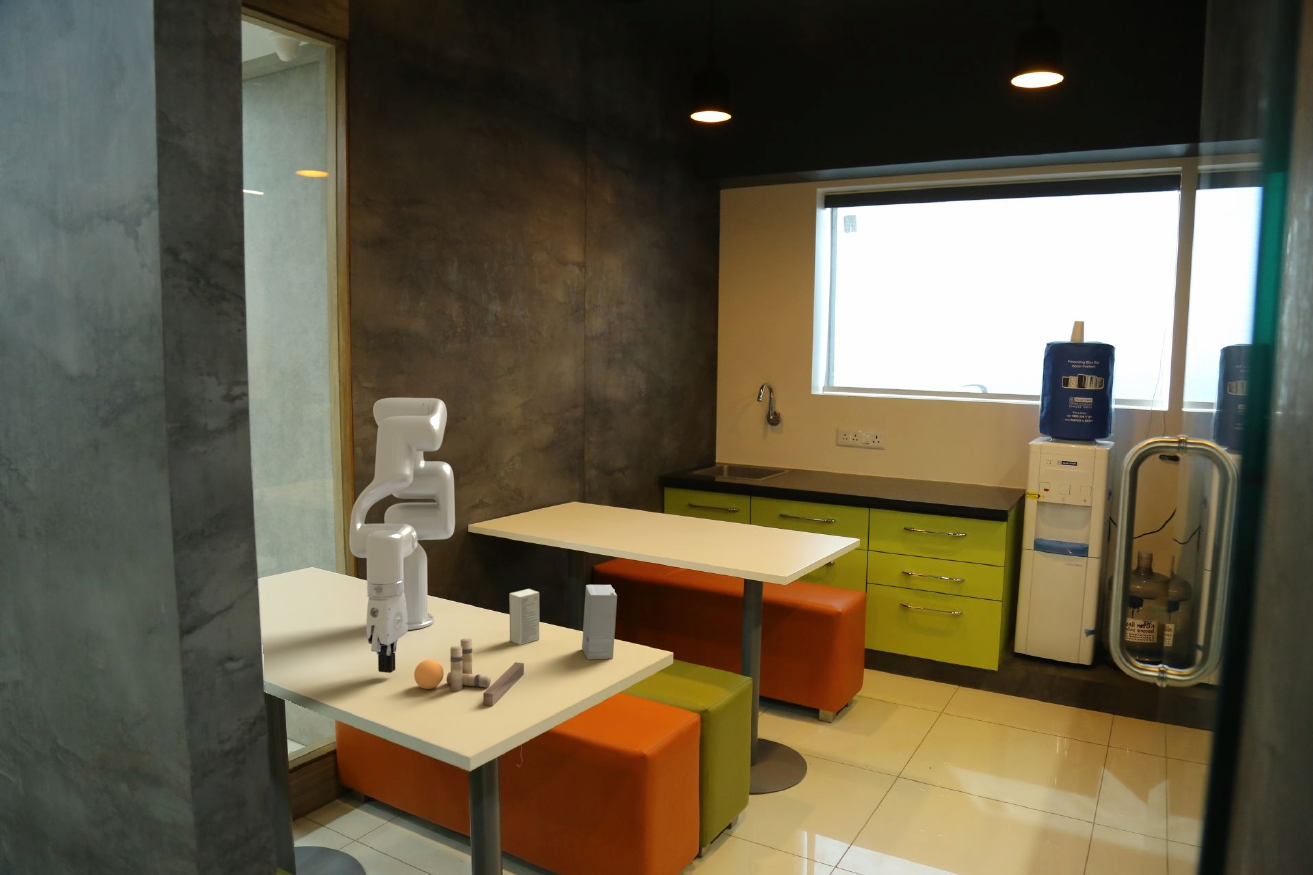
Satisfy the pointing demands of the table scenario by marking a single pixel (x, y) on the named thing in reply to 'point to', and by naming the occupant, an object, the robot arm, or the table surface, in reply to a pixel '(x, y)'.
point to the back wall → (503, 684)
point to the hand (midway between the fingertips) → (386, 670)
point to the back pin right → (456, 668)
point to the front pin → (472, 680)
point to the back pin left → (466, 655)
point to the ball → (428, 674)
